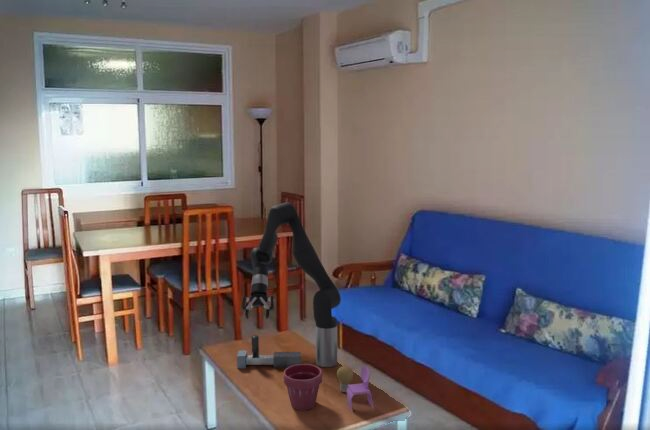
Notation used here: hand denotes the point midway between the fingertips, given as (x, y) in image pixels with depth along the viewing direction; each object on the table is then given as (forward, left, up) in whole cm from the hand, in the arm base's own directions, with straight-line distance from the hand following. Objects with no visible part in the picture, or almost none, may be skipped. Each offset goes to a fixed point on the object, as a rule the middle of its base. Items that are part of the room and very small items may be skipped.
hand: (257, 318), depth 246 cm
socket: (+6, +11, -17) cm, 21 cm away
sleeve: (-14, +11, -17) cm, 25 cm away
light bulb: (-38, +35, -17) cm, 54 cm away
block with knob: (-3, +11, -16) cm, 20 cm away
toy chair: (-43, +47, -17) cm, 66 cm away
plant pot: (-22, +45, -17) cm, 53 cm away
